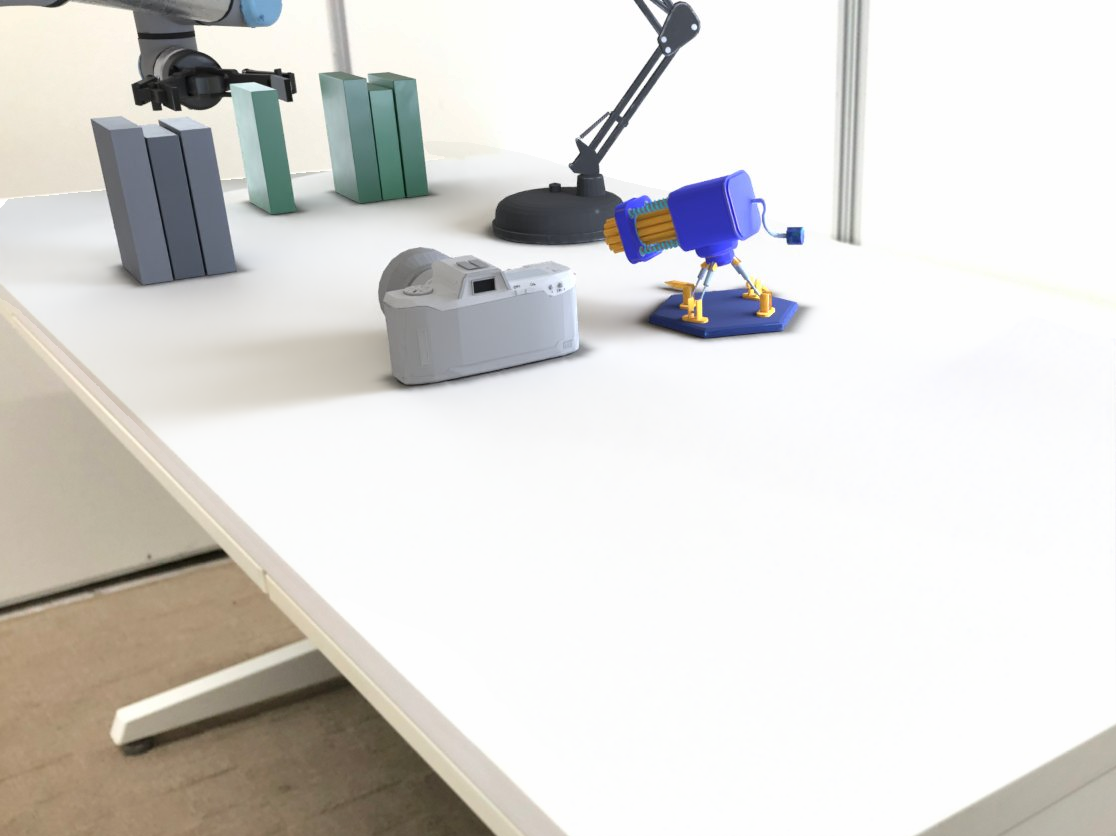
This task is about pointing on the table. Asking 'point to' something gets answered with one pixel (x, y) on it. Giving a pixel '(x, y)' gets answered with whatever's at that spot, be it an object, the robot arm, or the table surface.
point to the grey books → (165, 198)
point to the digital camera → (473, 315)
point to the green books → (374, 135)
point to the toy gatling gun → (704, 254)
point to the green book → (263, 147)
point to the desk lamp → (592, 156)
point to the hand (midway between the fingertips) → (233, 95)
